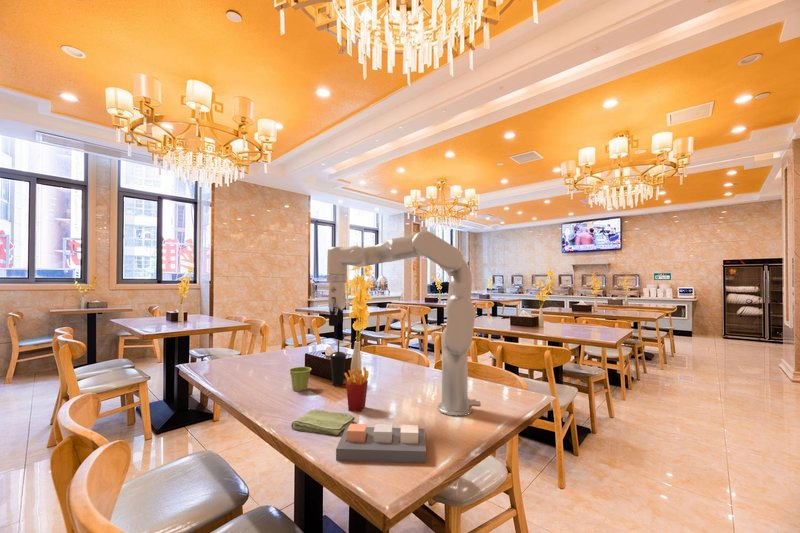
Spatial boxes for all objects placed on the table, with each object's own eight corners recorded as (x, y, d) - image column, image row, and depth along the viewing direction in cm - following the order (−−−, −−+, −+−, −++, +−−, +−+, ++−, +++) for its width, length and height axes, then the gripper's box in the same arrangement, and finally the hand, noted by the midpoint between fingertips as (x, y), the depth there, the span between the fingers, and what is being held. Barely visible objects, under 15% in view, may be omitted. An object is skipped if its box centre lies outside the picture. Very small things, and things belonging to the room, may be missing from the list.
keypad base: (424, 438, 105) (424, 428, 105) (426, 462, 91) (426, 451, 91) (346, 436, 106) (346, 426, 106) (335, 460, 92) (336, 448, 92)
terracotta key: (366, 435, 101) (367, 423, 101) (364, 443, 96) (364, 431, 96) (350, 434, 101) (350, 423, 102) (346, 442, 96) (346, 430, 97)
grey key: (392, 435, 101) (392, 424, 101) (391, 443, 96) (391, 432, 96) (375, 435, 101) (375, 424, 101) (373, 443, 96) (373, 431, 96)
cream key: (418, 436, 101) (418, 425, 101) (418, 444, 96) (418, 432, 96) (400, 435, 101) (401, 424, 101) (400, 444, 96) (400, 432, 96)
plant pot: (294, 385, 156) (294, 366, 157) (314, 386, 155) (314, 367, 155) (284, 392, 147) (285, 371, 147) (305, 393, 146) (306, 372, 146)
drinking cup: (338, 388, 153) (339, 342, 154) (325, 385, 157) (326, 340, 158) (349, 383, 160) (350, 340, 160) (337, 381, 164) (337, 338, 164)
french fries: (362, 412, 125) (363, 371, 125) (341, 411, 126) (341, 369, 127) (369, 404, 133) (370, 365, 134) (349, 402, 135) (350, 364, 136)
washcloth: (338, 438, 105) (339, 428, 106) (288, 431, 110) (289, 420, 111) (356, 422, 118) (356, 412, 118) (310, 415, 123) (310, 406, 123)
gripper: (342, 279, 123) (341, 327, 123) (350, 279, 141) (350, 321, 140) (321, 279, 124) (320, 327, 123) (332, 279, 141) (331, 321, 140)
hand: (336, 324), depth 131 cm, fingers open, 9 cm apart
